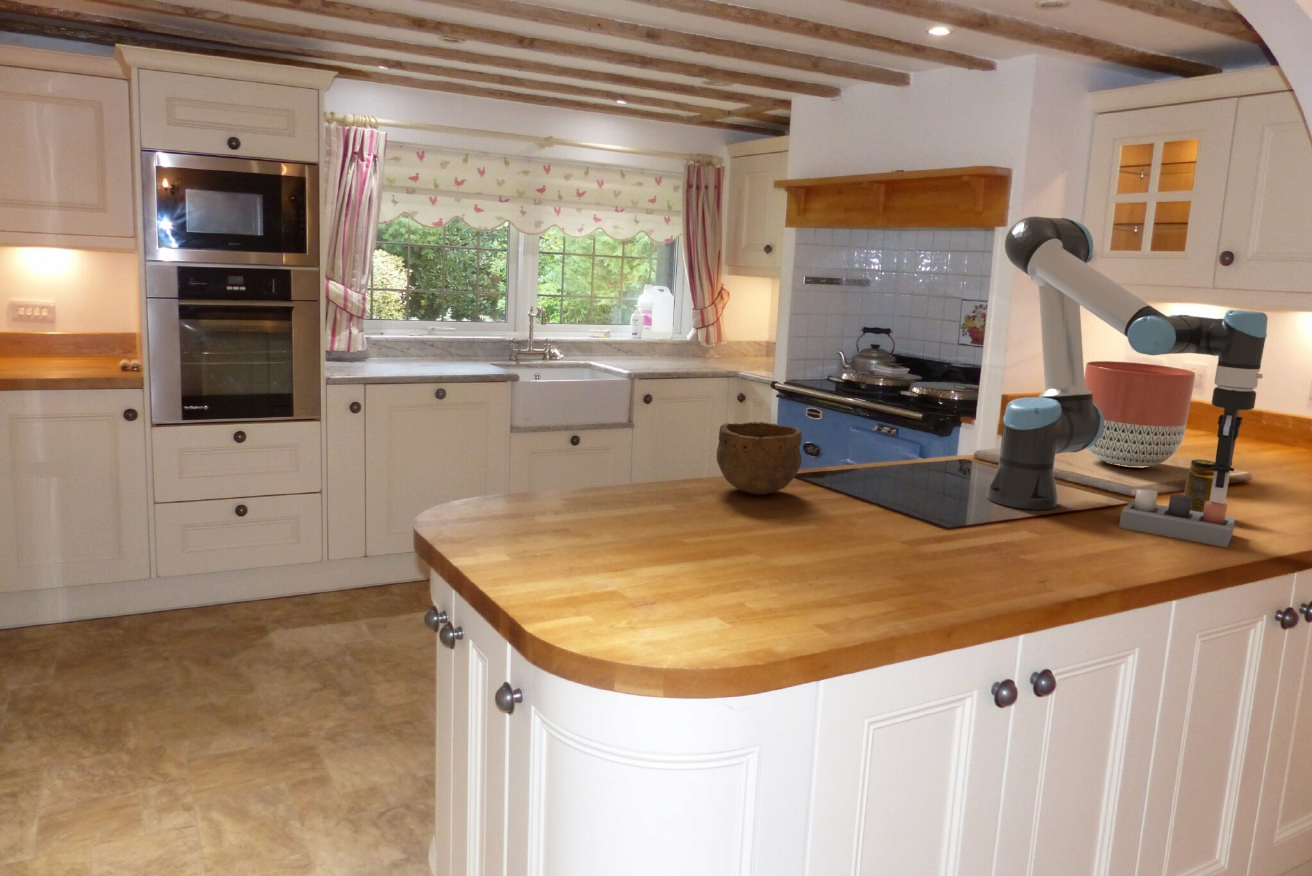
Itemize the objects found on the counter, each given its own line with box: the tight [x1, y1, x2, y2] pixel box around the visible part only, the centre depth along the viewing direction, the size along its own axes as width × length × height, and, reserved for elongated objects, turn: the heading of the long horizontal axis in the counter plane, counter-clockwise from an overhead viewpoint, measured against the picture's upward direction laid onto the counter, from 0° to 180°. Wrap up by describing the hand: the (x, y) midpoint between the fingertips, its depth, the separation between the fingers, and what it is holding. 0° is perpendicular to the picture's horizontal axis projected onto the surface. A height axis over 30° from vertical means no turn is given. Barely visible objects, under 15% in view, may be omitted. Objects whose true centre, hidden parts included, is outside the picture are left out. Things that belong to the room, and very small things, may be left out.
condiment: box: [1183, 459, 1215, 512], centre depth 226 cm, size 7×8×12 cm
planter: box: [1084, 360, 1196, 467], centre depth 273 cm, size 27×27×27 cm
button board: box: [1118, 499, 1236, 548], centre depth 211 cm, size 20×12×4 cm, turn 56°
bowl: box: [716, 421, 803, 496], centre depth 224 cm, size 19×19×15 cm
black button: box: [1168, 493, 1192, 518], centre depth 210 cm, size 4×4×4 cm
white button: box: [1134, 487, 1158, 512], centre depth 214 cm, size 4×4×4 cm
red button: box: [1202, 501, 1228, 525], centre depth 207 cm, size 4×4×4 cm
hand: (1217, 502), depth 206 cm, fingers closed
